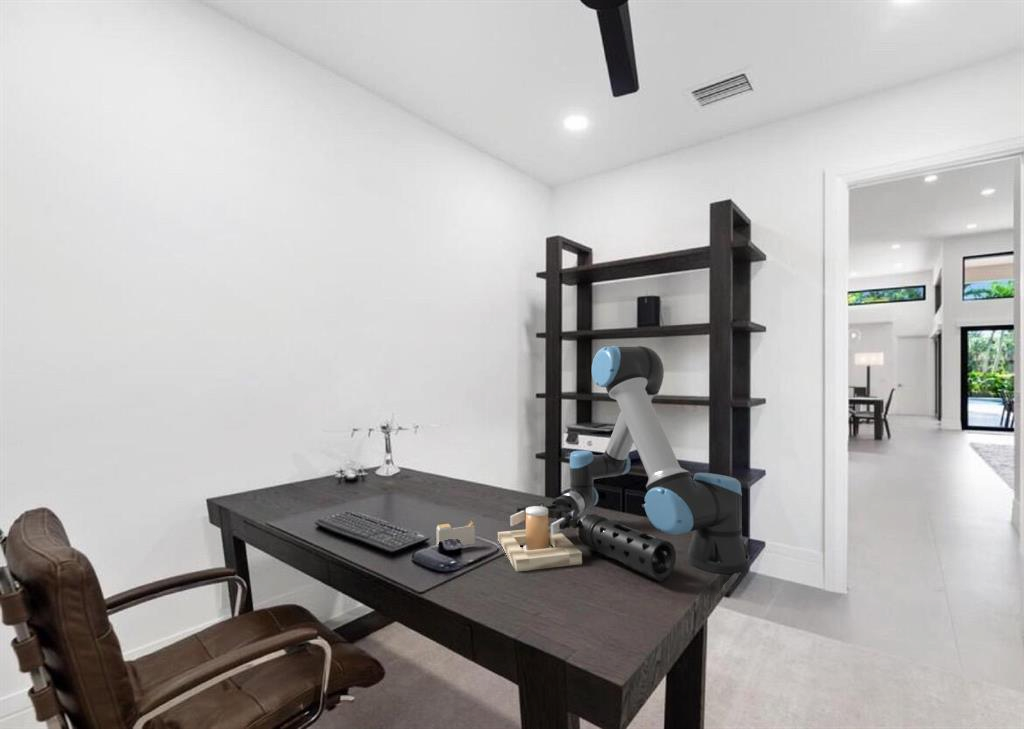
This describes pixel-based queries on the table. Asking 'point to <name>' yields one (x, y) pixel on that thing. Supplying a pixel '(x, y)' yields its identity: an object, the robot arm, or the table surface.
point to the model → (456, 533)
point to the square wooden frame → (539, 551)
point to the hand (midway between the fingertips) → (530, 525)
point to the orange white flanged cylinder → (536, 528)
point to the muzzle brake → (627, 546)
